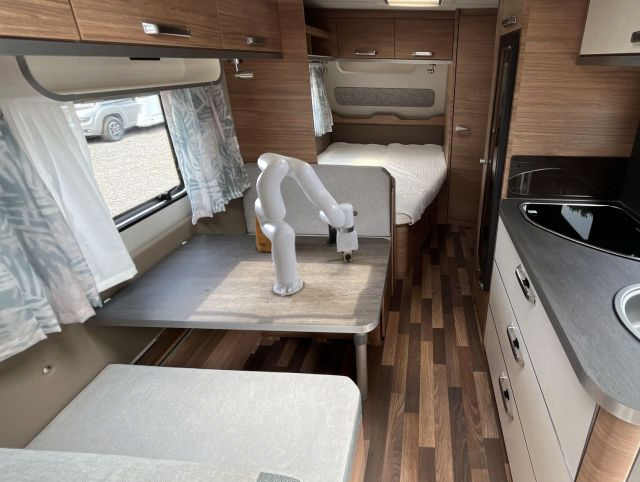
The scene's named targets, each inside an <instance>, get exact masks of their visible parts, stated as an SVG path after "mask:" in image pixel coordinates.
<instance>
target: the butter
mask: <svg viewBox="0 0 640 482" xmlns="http://www.w3.org/2000/svg"><path fill="white" fill-rule="evenodd" d="M346 252H347V253H348V252H349V251H346ZM343 260H344V263H348V262H349V260H348V262H347V260H345V255H344V254H343ZM352 260H353V259H352V256H351V260H350V262H352Z"/></svg>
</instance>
